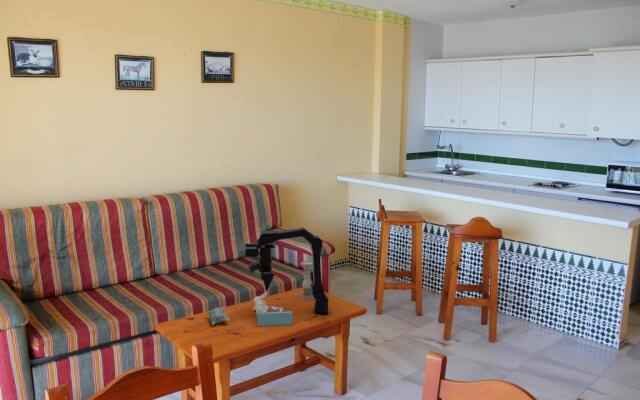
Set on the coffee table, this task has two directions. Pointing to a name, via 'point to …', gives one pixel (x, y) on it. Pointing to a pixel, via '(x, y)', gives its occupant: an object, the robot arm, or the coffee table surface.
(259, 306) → the rabbit figurine
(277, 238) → the robot arm
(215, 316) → the packaged food
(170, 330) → the coffee table surface
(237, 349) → the coffee table surface
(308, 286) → the candle holder
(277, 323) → the display stand
